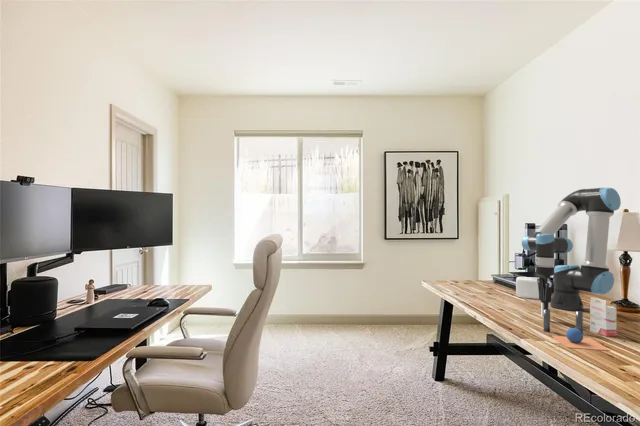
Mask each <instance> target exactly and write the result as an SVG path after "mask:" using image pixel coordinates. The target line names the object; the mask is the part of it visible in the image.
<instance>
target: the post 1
mask: <svg viewBox="0 0 640 426" xmlns="http://www.w3.org/2000/svg"><path fill="white" fill-rule="evenodd" d="M543 332H545V333H550V332H551V310H550V309H549V310H548V309H544V317H543Z"/></svg>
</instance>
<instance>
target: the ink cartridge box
mask: <svg viewBox="0 0 640 426" xmlns="http://www.w3.org/2000/svg"><path fill="white" fill-rule="evenodd" d="M617 329H618V327H617V307H615V306H610V305H607V300H605V299H602V298H598V297H593V296H591V297H590V303H589V331H590V332H592V333H595V334H599V335H601V336H603V337H617V336H618V335H617V333H618V332H617Z"/></svg>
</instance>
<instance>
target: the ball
mask: <svg viewBox="0 0 640 426" xmlns="http://www.w3.org/2000/svg"><path fill="white" fill-rule="evenodd" d="M565 335H566V336H565V337H567V338H568V340H570V341H571V342H573V343H579V342H581V341H582V340H583V338H584V333H583V334H582V332H581V331H580V330H579V329H576V327H571V328H569V329H567V330H566V332H565Z"/></svg>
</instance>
